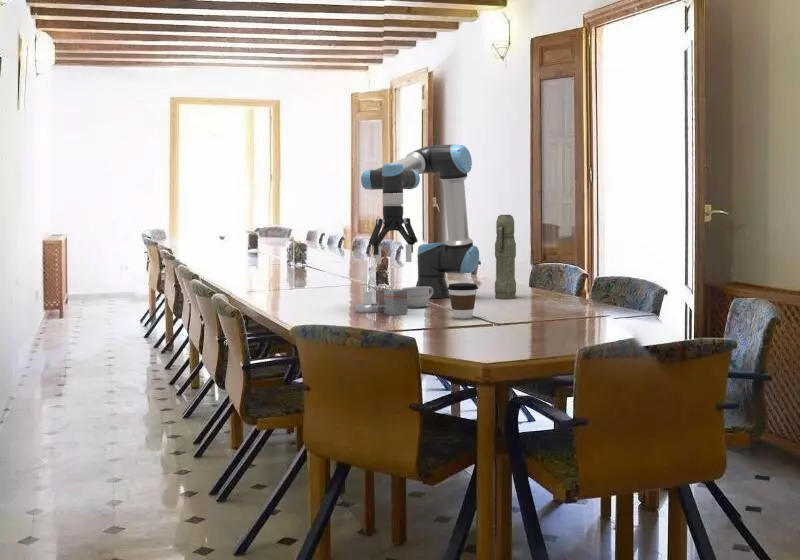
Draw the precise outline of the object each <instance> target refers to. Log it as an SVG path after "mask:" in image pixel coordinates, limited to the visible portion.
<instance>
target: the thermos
mask: <svg viewBox="0 0 800 560" xmlns="http://www.w3.org/2000/svg"><path fill="white" fill-rule="evenodd" d="M495 225H496V226H495V229H496V230H495V231H496V232H495V233H496V237H495V239H496V240H495V242H494V257H495V281H494V294H495V299H496V300H514V299H516V298H517V295H516V293H517V281H516V278H515V277H516V276H515V275H516V264H515V263H516V260H515V259H516V256H517V247H516V246H517V243H516V241H515V240H516V239H515V220H514V217H513V215H512V214H499V215H498V216H497V218H496V221H495Z"/></svg>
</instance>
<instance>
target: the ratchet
mask: <svg viewBox="0 0 800 560" xmlns="http://www.w3.org/2000/svg"><path fill="white" fill-rule="evenodd" d="M362 295H363V296H362V297H363V299H362V300H363V301H362V302H363V303H359V304H356V305H355V313H359V314H377V313H382V312H383V313H385V305H380V304H379V303H373V301H372V299H373V297H372V295H373V294H372V291H363V294H362Z"/></svg>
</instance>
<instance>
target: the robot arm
mask: <svg viewBox="0 0 800 560" xmlns="http://www.w3.org/2000/svg"><path fill="white" fill-rule="evenodd" d="M472 165H473V159H472V155H471V152H470V150H469V149H468V148H467V147H466V146H465V145H463V144H455V143H454V144H453V143H452V144H439V145H434V144H433V145H427V146H424V147H421V148H419V149H416V150H414V151H411V152H408V154H406V156H405V157H403V158H401V159H398V160H396V161H393V162H392V163H391V162H387V163H384V164H382V166H381V167H379V168H377V169H366V170H364V171H362V173H361V176H360V181H361V186H362V188H364V189H365V190H372V191H373V190H374V191H375V190H382V204H383V207H382V215H383V219H382V218H376V219H375V225H374V228H373V230H372V233H371V236H370V238H369V241H368V244H369V245H371V246H372V247H373V255H374V258H375V264H376V265H382V246H381V245H380V244H381V243H382V242H383V240H384V239H385V237H386V236H387V234H388V233H389V232H391V231H393V232H394V231H397V232H399V234H400V235H401V237H402V238H403V239H404V241H405V243H406V244H405V262H406V263H413V261H412V258H413V257H412V254H413V252H414V245H415V244H416V243H418V238H417V236H416V234H415V231H414V229H413V227H412V223H411V219H410V217H403V216H404V206H403V204H404V190H413V189H416V188H417V187H418V186H419V184H420V183H421V176H420V175H422V174H433V175H434V174H437V175H438V176H439V177H438V178H439V181H441V182H442V183H443V192H444V204H445V214H446V216H445V217H446V226H447V227H446V228H447V240H446V241H445V242H444V241H441V242H440V241H439V242H432V243H425V244H424V243H423V244H420V245H419V246H418V248H417V255H416V257H417V281H416V285H415V287H432V288H433V295H432V296H431V297H430V298H429V299H444V298H449V297H450V291H449V290H448V289H447V287H449V285H448V284H447V281H446V273H447V274H471V273H474V272H475V270H476V268H477V267H478V264H479V260H480V249H479V247H478V246H476V245H474V243H473V242H474V241H473V239H471V238H470V236H469V226H468V225H469V224H468V223H469V222H468V212H467V210H468V209H467V201H466V188H465V187H466V186H465V180H466V179H467V178H468V173H470V172H471V170H472ZM403 225H404V226H403ZM429 294H430V289H429Z"/></svg>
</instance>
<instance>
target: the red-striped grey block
mask: <svg viewBox="0 0 800 560" xmlns="http://www.w3.org/2000/svg"><path fill="white" fill-rule="evenodd" d="M383 293H384V296H383V298H384V300H383V301H384V305H383V306H385V312H384V315H388V316H400V315H401V316H402V315H404V316H405V315H408V307H407V290H402V288H392V289H384V290H383Z"/></svg>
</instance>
